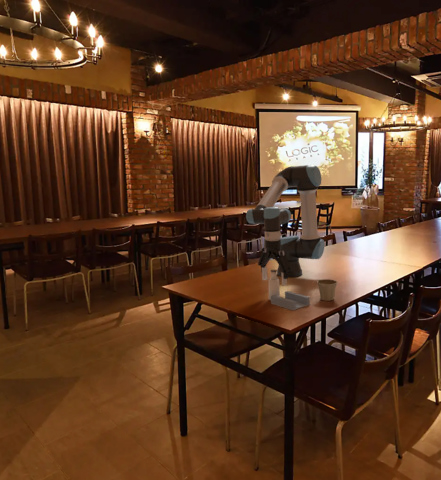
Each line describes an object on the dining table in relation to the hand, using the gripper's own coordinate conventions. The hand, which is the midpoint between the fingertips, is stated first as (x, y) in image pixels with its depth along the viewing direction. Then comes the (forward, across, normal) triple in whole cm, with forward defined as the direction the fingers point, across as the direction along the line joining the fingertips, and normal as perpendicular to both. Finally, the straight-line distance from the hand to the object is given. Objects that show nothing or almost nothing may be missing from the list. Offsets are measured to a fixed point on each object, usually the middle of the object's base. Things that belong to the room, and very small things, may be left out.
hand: (274, 282), depth 191 cm
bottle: (+8, 0, -1) cm, 8 cm away
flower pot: (+9, +18, +17) cm, 26 cm away
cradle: (+8, +11, -1) cm, 13 cm away
